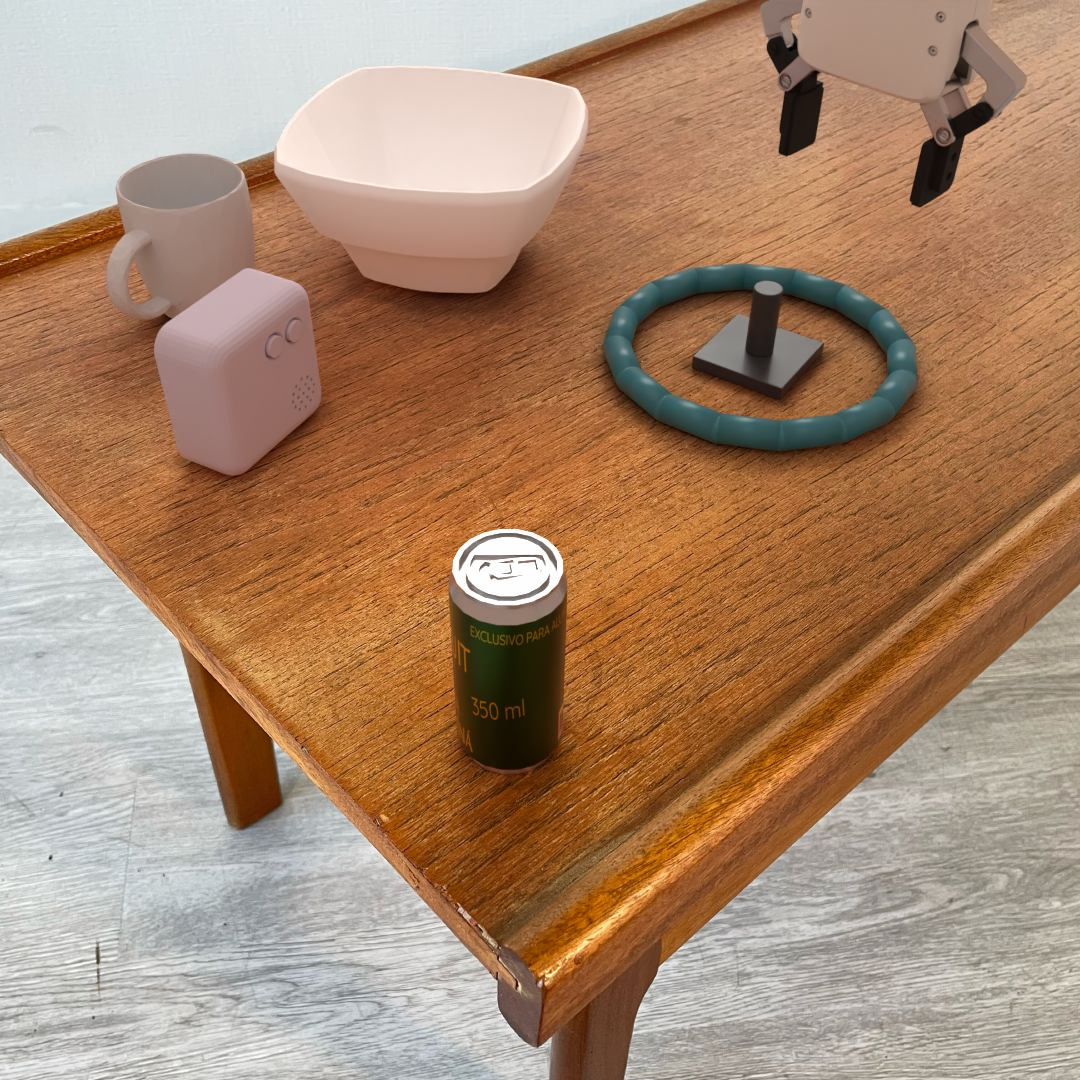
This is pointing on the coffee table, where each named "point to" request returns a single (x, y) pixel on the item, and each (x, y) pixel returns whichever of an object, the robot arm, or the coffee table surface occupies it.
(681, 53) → the coffee table surface
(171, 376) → the electronic device
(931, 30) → the robot arm
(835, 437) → the ring
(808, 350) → the post
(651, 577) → the coffee table surface
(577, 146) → the bowl
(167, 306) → the mug
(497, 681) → the beer can
